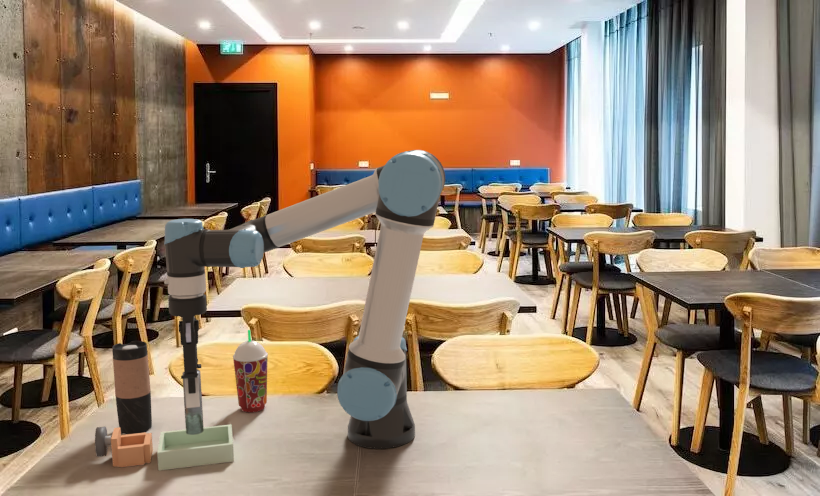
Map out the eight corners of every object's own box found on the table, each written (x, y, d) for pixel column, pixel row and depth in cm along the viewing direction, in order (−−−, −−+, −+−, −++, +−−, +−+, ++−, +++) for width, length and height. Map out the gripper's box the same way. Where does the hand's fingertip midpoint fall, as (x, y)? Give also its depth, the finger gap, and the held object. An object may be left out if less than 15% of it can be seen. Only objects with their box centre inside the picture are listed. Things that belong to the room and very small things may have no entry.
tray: (232, 440, 169) (231, 424, 168) (234, 461, 159) (233, 444, 158) (161, 448, 165) (160, 432, 165) (158, 470, 155) (157, 452, 154)
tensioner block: (153, 449, 165) (150, 416, 164) (150, 463, 158) (148, 429, 157) (101, 455, 162) (98, 421, 161) (96, 470, 155) (93, 435, 154)
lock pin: (203, 427, 163) (200, 368, 161) (203, 433, 160) (200, 374, 158) (186, 428, 162) (182, 370, 160) (185, 435, 159) (182, 375, 157)
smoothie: (266, 414, 184) (262, 334, 181) (232, 415, 184) (227, 335, 181) (272, 402, 192) (269, 325, 189) (240, 402, 192) (236, 325, 189)
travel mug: (141, 436, 172) (135, 350, 169) (111, 433, 174) (104, 349, 170) (159, 423, 180) (153, 341, 176) (129, 421, 181) (123, 339, 178)
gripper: (170, 287, 163) (176, 391, 167) (165, 304, 147) (172, 419, 151) (206, 285, 165) (211, 388, 169) (205, 302, 149) (211, 415, 153)
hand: (193, 403), depth 160 cm, fingers closed on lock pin, 4 cm apart
